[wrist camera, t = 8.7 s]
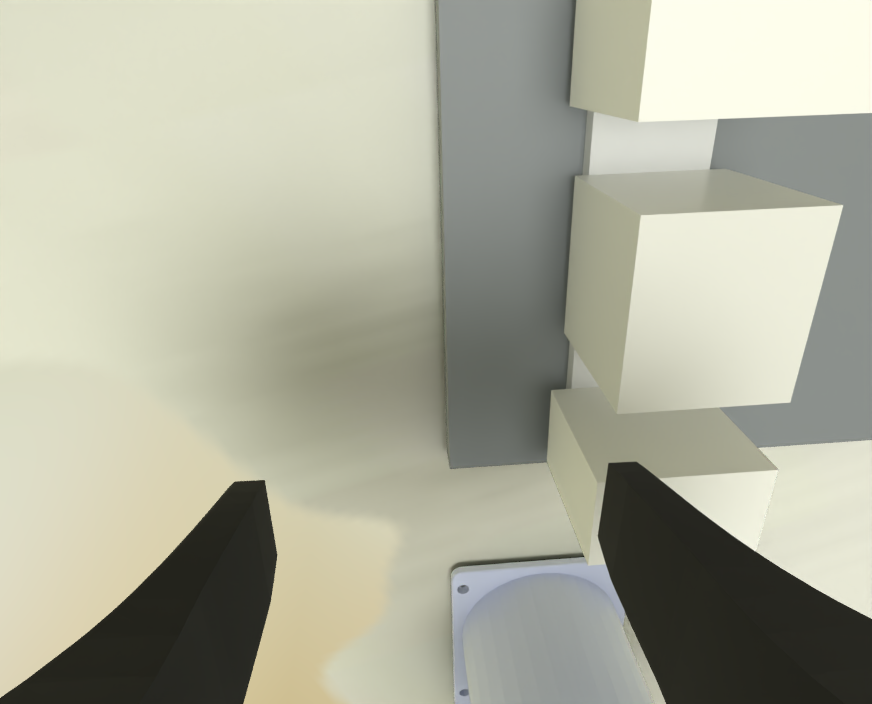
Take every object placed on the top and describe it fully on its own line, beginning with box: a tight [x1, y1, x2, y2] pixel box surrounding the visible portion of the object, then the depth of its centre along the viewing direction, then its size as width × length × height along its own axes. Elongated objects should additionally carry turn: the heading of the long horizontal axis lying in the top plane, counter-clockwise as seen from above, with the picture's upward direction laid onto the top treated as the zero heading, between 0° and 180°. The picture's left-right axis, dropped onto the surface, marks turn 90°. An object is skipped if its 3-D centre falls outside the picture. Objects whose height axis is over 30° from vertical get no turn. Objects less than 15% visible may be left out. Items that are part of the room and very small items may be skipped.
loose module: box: [564, 169, 843, 414], centre depth 16 cm, size 5×4×5 cm
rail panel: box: [435, 0, 872, 566], centre depth 17 cm, size 16×20×7 cm
